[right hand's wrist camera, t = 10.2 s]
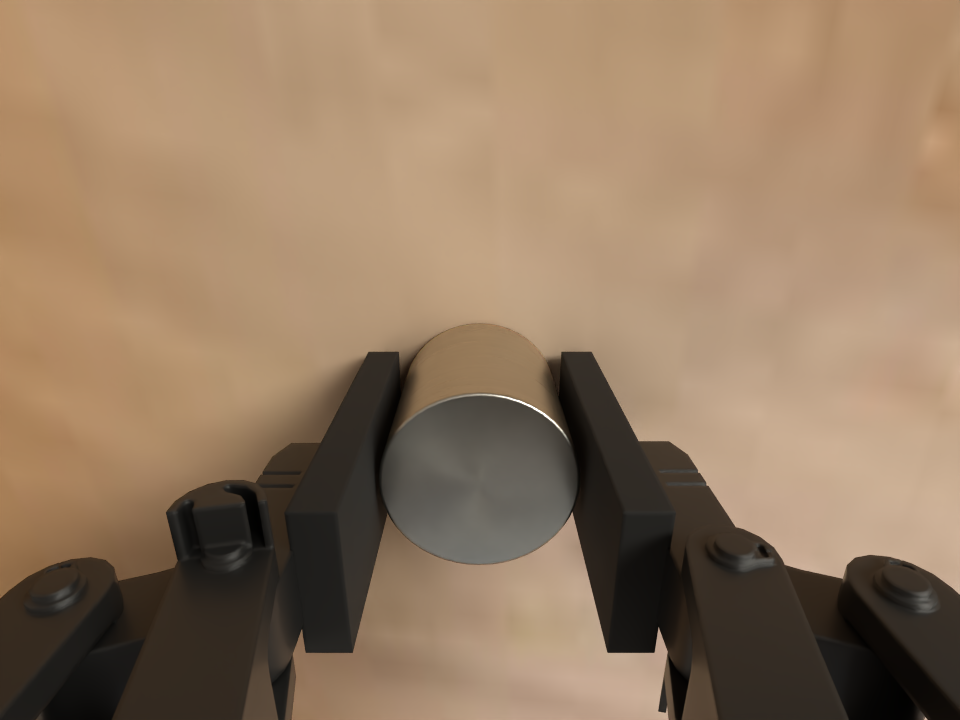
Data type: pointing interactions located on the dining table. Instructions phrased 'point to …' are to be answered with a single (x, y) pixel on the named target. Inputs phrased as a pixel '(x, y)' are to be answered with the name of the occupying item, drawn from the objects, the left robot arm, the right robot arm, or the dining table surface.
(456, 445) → the tin
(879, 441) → the dining table surface
